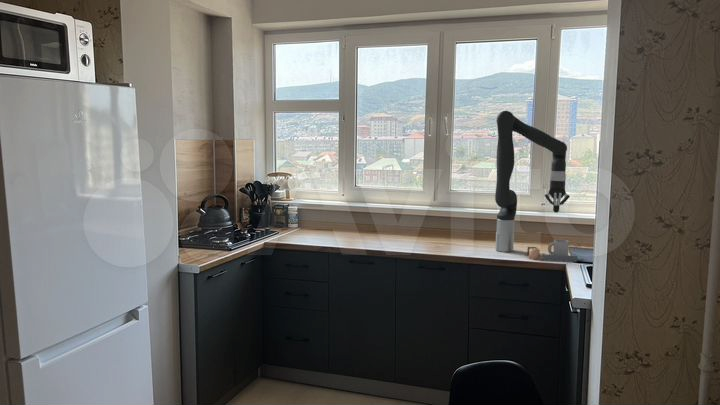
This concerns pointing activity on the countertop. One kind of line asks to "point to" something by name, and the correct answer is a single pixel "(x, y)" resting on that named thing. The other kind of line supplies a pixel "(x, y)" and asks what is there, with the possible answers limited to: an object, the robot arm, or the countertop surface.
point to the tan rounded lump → (534, 253)
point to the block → (529, 248)
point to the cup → (559, 247)
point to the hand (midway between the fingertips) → (556, 212)
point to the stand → (559, 257)
